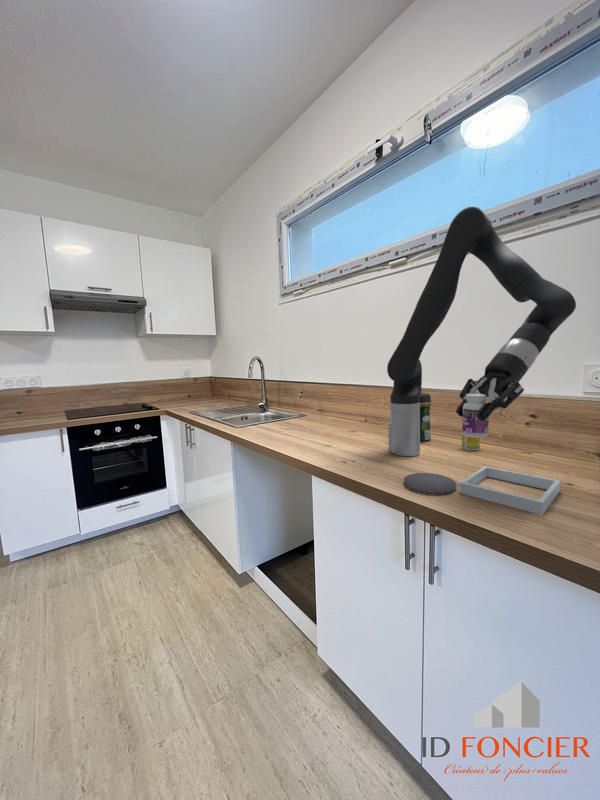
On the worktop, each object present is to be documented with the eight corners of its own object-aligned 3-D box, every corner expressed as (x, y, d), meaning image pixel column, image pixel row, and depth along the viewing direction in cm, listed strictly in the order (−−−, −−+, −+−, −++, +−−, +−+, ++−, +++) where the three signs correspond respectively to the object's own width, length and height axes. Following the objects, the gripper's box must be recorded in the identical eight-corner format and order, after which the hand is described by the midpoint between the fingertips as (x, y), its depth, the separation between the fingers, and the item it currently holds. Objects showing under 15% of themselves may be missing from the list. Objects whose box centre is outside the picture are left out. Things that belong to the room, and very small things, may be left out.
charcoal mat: (394, 485, 79) (394, 482, 79) (419, 473, 87) (419, 469, 87) (442, 499, 70) (442, 495, 70) (464, 484, 78) (464, 480, 78)
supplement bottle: (458, 448, 109) (458, 420, 108) (468, 445, 111) (469, 419, 110) (472, 451, 104) (473, 423, 103) (483, 449, 107) (483, 421, 105)
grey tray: (459, 492, 73) (459, 482, 73) (484, 475, 84) (484, 466, 83) (542, 515, 62) (542, 502, 61) (559, 491, 72) (560, 480, 72)
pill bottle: (457, 433, 76) (458, 394, 75) (478, 432, 77) (479, 393, 76) (471, 439, 71) (472, 396, 70) (493, 437, 72) (495, 395, 70)
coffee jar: (400, 438, 126) (400, 392, 124) (415, 435, 130) (415, 390, 127) (419, 443, 117) (419, 394, 115) (434, 440, 121) (434, 392, 119)
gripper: (477, 352, 80) (437, 402, 79) (533, 350, 67) (486, 410, 65) (493, 372, 83) (454, 421, 81) (550, 374, 69) (505, 433, 67)
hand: (469, 416), depth 73 cm, fingers closed on pill bottle, 5 cm apart
